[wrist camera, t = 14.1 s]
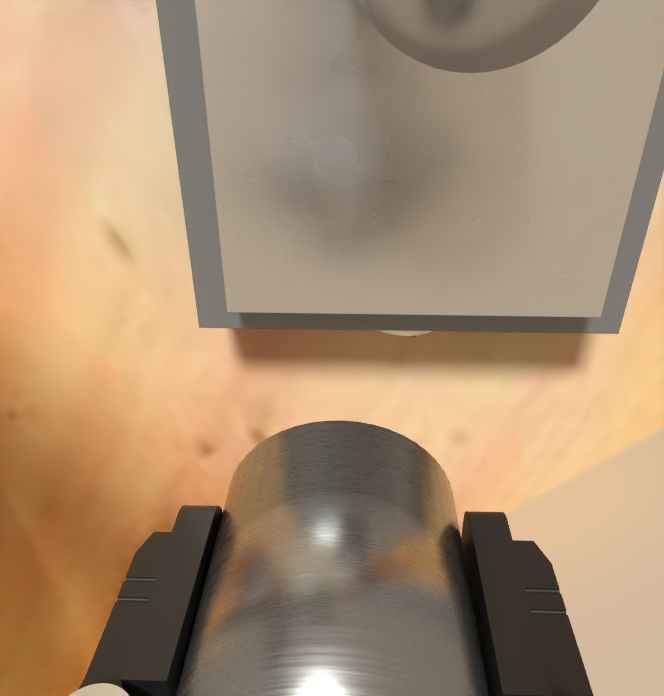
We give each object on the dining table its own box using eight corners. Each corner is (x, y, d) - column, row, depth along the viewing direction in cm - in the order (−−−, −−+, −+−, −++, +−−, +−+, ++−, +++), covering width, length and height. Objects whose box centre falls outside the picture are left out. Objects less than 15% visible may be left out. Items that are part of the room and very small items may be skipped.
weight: (182, 473, 13) (26, 915, 7) (390, 384, 11) (424, 839, 5) (301, 605, 15) (261, 1032, 9) (489, 544, 13) (592, 998, 7)
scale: (220, 293, 27) (199, 342, 24) (168, -190, 19) (121, -231, 15) (582, 298, 27) (618, 349, 23) (697, -197, 18) (783, -240, 15)
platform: (233, 296, 23) (227, 312, 22) (189, -154, 16) (178, -162, 15) (589, 301, 22) (600, 317, 21) (700, -159, 15) (724, -169, 14)
